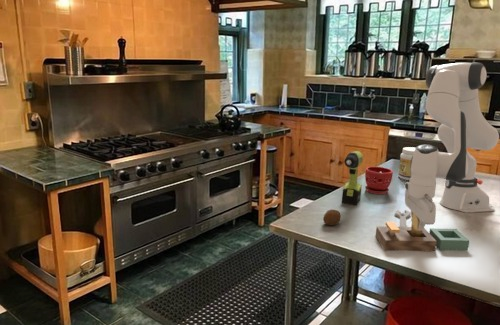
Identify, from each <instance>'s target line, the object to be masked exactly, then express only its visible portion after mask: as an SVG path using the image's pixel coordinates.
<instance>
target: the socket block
mask: <svg viewBox="0 0 500 325" xmlns="http://www.w3.org/2000/svg"><path fill="white" fill-rule="evenodd" d="M397 227H398V228H399V229H400V233H395V236H391V235H390V234H389V229H388V228H387V226H380V225H379V226H376V227H375V228H376V230H375V237H376V239H377V240H378V242H379V243H380V246H381V247H382V248H383V250H384V251H388V252H389V251H395V252H405V251H407V252H436V249H437V247H436V243H437V241H436V240H435V239H434V238H433V237H432V236H431V235H430V233H429V232H430V231H428V230H427V229H426V228H425V227H424V230H423V232H422V237H411V236H410V233H411V226H406V227H399V226H397Z"/></svg>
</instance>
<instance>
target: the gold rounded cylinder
mask: <svg viewBox="0 0 500 325" xmlns="http://www.w3.org/2000/svg"><path fill="white" fill-rule="evenodd" d="M411 218H412V221H411V226H410V227H411V233H410V236H411V237H422V232H423V230H419V229H418V224H419V223H420V221H419V218H418V217H417V216H416V215H415V214H414V213H413V217H411Z"/></svg>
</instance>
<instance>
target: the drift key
mask: <svg viewBox="0 0 500 325" xmlns="http://www.w3.org/2000/svg"><path fill="white" fill-rule="evenodd" d="M385 227H387V228H388V229H389V234H390V235H391V236H395V233H400V229H399V228H398V227H399V226H398V225H397V224H396V223H395V222H394V221H385Z"/></svg>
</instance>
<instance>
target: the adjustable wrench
mask: <svg viewBox="0 0 500 325" xmlns="http://www.w3.org/2000/svg"><path fill="white" fill-rule="evenodd" d="M394 217H397V218H398V219H399V226H398V227H407V222H406V221H407V219H409V218H410V217H411V211H409V210H406V209H405V210H404V212H401V211H400V210H398V209H397V210H396V211H395V212H394Z"/></svg>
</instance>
